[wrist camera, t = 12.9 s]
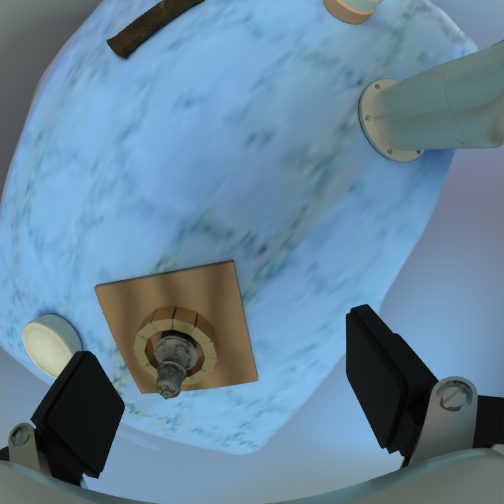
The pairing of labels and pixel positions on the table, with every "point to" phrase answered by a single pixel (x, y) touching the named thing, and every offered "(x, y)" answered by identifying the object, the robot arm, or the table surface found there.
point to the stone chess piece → (174, 361)
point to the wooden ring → (184, 323)
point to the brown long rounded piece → (147, 25)
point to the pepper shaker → (352, 9)
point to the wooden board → (189, 297)
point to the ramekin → (50, 343)
